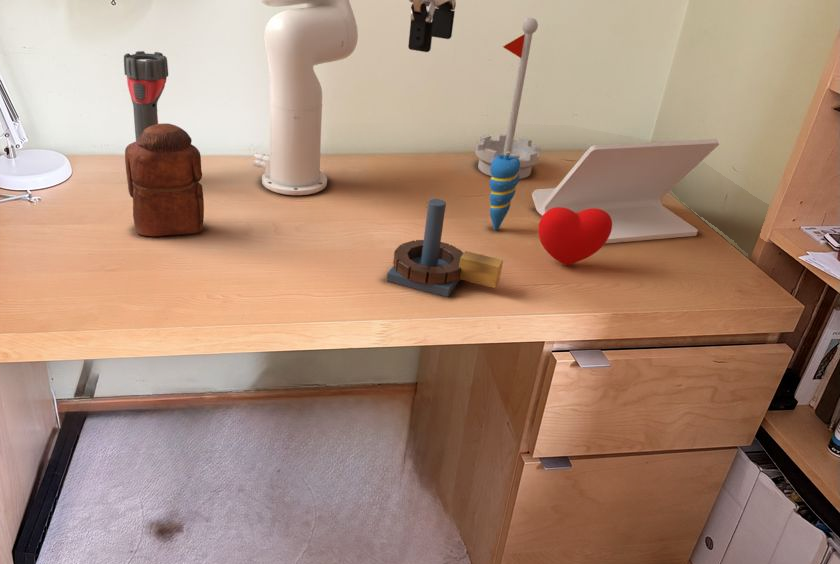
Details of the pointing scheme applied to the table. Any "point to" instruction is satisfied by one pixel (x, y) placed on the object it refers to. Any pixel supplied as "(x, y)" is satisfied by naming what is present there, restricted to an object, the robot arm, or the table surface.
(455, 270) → the walnut ring
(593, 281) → the table surface
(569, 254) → the heart
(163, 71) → the flashlight
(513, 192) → the ornament
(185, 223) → the wooden figurine
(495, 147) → the flag stand
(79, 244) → the table surface
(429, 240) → the peg rack
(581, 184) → the tablet stand
